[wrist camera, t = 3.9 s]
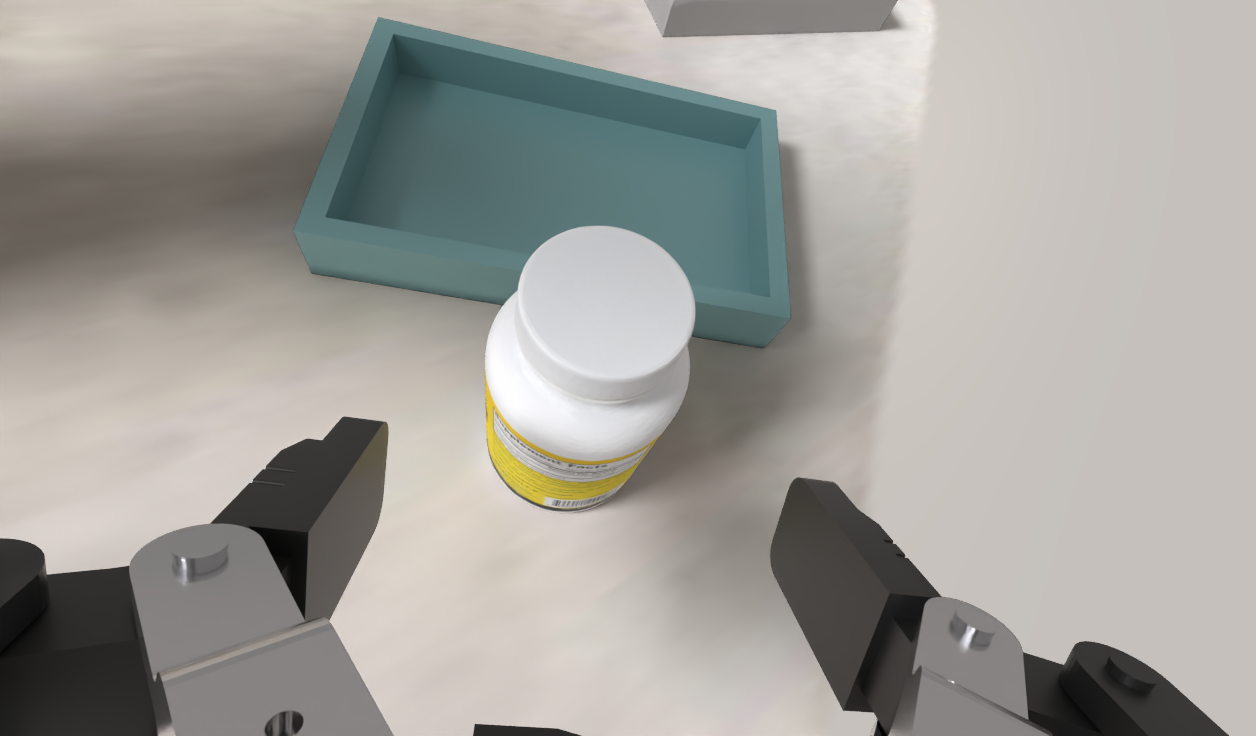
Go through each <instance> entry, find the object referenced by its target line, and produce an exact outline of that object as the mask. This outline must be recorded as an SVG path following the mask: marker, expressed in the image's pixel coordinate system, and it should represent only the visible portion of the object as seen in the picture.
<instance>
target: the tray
mask: <svg viewBox="0 0 1256 736" xmlns="http://www.w3.org/2000/svg"><path fill="white" fill-rule="evenodd" d="M585 226H611V227H617V228H622V229H626V230H629V231H632V232H634V233H637V234H639V235H642V236H644V237H646V238H648V239H650V240H651V241H653V242H654V243H656V244H658V245H659V246H660V247H662V248H663V249H664V250H665V251H666V252H667V253H669V254H670V255H671V257H672V258H673V259H674V260H675V261H676V262H677V263H678V264H679V266H680V267H681V269H682V270H683V272H684V273H685V275H686V277H687V278H688V281H689V283H690V286H691V288H692V292H693V295H694V299H695V309H696V313H695V323H694V329H693V332H692V336H693V337H699V338H705V339H711V340H717V341H723V342H730V343H736V344H742V345H748V346H754V347H760V348H765V347H766V346H767V345H768V343H769V342H770V341H771V340H772V339H773V338H774V337H775V336H776V335H777V333H778V332H779V331H780V330H781V329H782V328H783V327H784V326H785V325H786V323H787V322H788V321H789V320H790V319H791V313H790V299H789V285H788V270H787V256H786V242H785V228H784V214H783V200H782V186H781V171H780V157H779V143H778V129H777V115H776V110H772V109H768V108H763V107H759V106H755V105H751V104H746V103H742V102H738V101H734V100H729V99H725V98H721V97H717V96H712V95H708V94H704V93H700V92H695V91H691V90H687V89H683V88H678V87H674V86H670V85H665V84H661V83H657V82H653V81H648V80H644V79H640V78H636V77H631V76H627V75H623V74H619V73H614V72H610V71H606V70H602V69H597V68H593V67H589V66H585V65H580V64H576V63H572V62H568V61H563V60H559V59H555V58H551V57H546V56H542V55H538V54H533V53H529V52H525V51H521V50H516V49H512V48H508V47H504V46H499V45H495V44H491V43H487V42H482V41H478V40H474V39H470V38H465V37H461V36H457V35H453V34H448V33H444V32H440V31H436V30H431V29H427V28H423V27H418V26H414V25H410V24H406V23H401V22H397V21H393V20H389V19H384V18H380V17H378V19H377V22H376V24H375V27H374V29H373V32H372V34H371V37H370V39H369V42H368V44H367V47H366V49H365V52H364V54H363V57H362V59H361V62H360V64H359V67H358V69H357V72H356V74H355V77H354V79H353V82H352V84H351V87H350V89H349V92H348V94H347V97H346V99H345V102H344V104H343V107H342V109H341V112H340V114H339V117H338V119H337V122H336V124H335V127H334V129H333V132H332V135H331V137H330V140H329V142H328V145H327V147H326V150H325V152H324V155H323V157H322V160H321V162H320V165H319V167H318V170H317V172H316V175H315V177H314V180H313V182H312V185H311V187H310V190H309V192H308V195H307V197H306V200H305V202H304V205H303V207H302V210H301V212H300V215H299V217H298V220H297V222H296V225H295V227H294V230H293V232H294V235H295V237H296V239H297V241H298V244H299V246H300V248H301V250H302V253H303V255H304V257H305V259H306V262H307V264H308V266H309V268H310V271H311V273H313V274H319V275H325V276H331V277H337V278H343V279H349V280H355V281H361V282H367V283H373V284H379V285H385V286H391V287H397V288H403V289H409V290H415V291H421V292H427V293H434V294H440V295H446V296H452V297H458V298H464V299H470V300H476V301H482V302H488V303H494V304H500V305H504V304H505V303H506V301H507V300H508V299H509V298H510V297H511V296H512V295H513V294H514V293H515V292H516V291H517V290H518V284H519V280H520V277H521V274H522V271H523V269H524V266H525V265H526V263H527V261H528V260H529V258H530V257H531V256H532V254H533V253H534V252H535V251H536V250H537V249H538V248H539V247H540V246H541V245H542V244H543V243H545V242H546V241H547V240H549V239H551V238H552V237H554V236H556V235H558V234H560V233H563V232H565V231H567V230H570V229H574V228H578V227H585Z"/></svg>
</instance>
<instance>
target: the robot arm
mask: <svg viewBox="0 0 1256 736" xmlns="http://www.w3.org/2000/svg"><path fill="white" fill-rule="evenodd" d="M387 445H388V424H387V423H386V422H382V421H374V420H367V419H359V418H352V417H342V418H341V419H340V421H339V422H338V423H337V424H336V425H335V426H334V428H333V429H332V430H331V431H330V432H329V433H328V435H327V436H326V437H325V438H324V439H323V440H314V439H305V440H303V441H301V442H298V443H296V444H294V445H292V446H290V447H288V448H286V449H283V450H281V451H280V452H279V453H278V454H277V455H276V456H275V457H274V458H273V460H272V461H271V462H270V463H269V464H268V465H267V466H266V469H265V470H264V469H263V470H262V471H261V472H260V473H259V474H258V475H257V476H256V477H255V478H254V479H253V482H252V483H249V484H248V485H247V486H246V487H245V488H244V489H243V490H242V491H241V492H240V493H239V495H238V496H237V497H236V498H235V499H234V500H233V501H232V502H231V503H230V504H229V505H228V506H227V507H226V508H225V509H224V510H223V511H222V512H221V513H220V514H219V515H218V516H217V517H216V518H215V519H214V520H213V521H212V522H211V523H210V524H204V525H197V526H191V527H187V528H183V529H179V530H176V531H173V532H170V533H167V534H165V535H163V536H161V537H158V538H157V539H155V540H153V541H151V542H149V543H148V544H147V545H145V546H144V547H143V548H141V549H140V550H139V551H138V552H137V553H136V554H135V556H134V557H133V559H132V560H131V563H130V566H126V567H118V568H111V569H101V570H91V571H80V572H70V573H60V574H50V575H47V574H46V566H45V557H44V553H43V552H42V550H41V549H40V548H38V547H37V546H36V545H34V544H31V543H29V542H25V541H21V540H15V539H0V736H394V735H393V734H392V732H391V730H390V728H389V726H388V725H387V723H386V721H385V719H384V717H383V716H382V714H381V712H380V710H379V708H378V707H377V705H376V703H375V701H374V699H373V698H372V696H371V694H370V692H369V690H368V689H367V687H366V685H365V683H364V681H363V680H362V678H361V676H360V674H359V672H358V671H357V669H356V667H355V665H354V663H353V662H352V660H351V658H350V656H349V654H348V653H347V651H346V649H345V647H344V645H343V644H342V642H341V640H340V638H339V636H338V635H337V633H336V631H335V629H334V628H333V626H332V624H331V623H330V622H329V620H330V618H331V616H332V614H333V612H334V610H335V608H336V606H337V604H338V602H339V600H340V598H341V596H342V594H343V592H344V590H345V588H346V586H347V584H348V583H349V581H350V579H351V577H352V575H353V573H354V571H355V569H356V567H357V565H358V563H359V561H360V559H361V557H362V555H363V553H364V551H365V549H366V547H367V545H368V543H369V541H370V539H371V537H372V535H373V533H374V531H375V529H376V526H377V523H378V520H379V517H380V513H381V508H382V502H383V493H384V481H385V469H386V457H387ZM770 558H771V567H772V571H773V574H774V576H775V578H776V580H777V582H778V584H779V586H780V588H781V590H782V592H783V594H784V595H785V597H786V599H787V601H788V603H789V605H790V607H791V609H792V611H793V613H794V615H795V617H796V619H797V621H798V623H799V625H800V627H801V629H802V631H803V633H804V635H805V637H806V639H807V641H808V643H809V644H810V646H811V648H812V650H813V652H814V654H815V656H816V658H817V660H818V662H819V664H820V666H821V668H822V670H823V672H824V674H825V676H826V678H827V680H828V682H829V684H830V686H831V688H832V690H833V691H834V693H835V695H836V697H837V699H838V701H839V703H840V705H841V707H842V709H843V710H844V711H861V712H874V713H875V715H876V717H877V719H876V722H875V724H874V727H873V729H872V731H871V734H870V736H1229V735H1228V734H1226V733H1225V732H1224V731H1223V730H1222V729H1221V728H1220V727H1219V726H1217V724H1215V723H1214V722H1213V721H1212V720H1211V719H1210V718H1209V717H1208V716H1207V715H1206V714H1204V713H1203V712H1202V711H1201V710H1200V709H1199V708H1198V707H1197V706H1195V705H1194V704H1193V703H1192V702H1191V701H1190V700H1189V699H1188V698H1187V697H1186V696H1184V695H1183V694H1182V693H1181V692H1180V691H1179V690H1178V689H1177V688H1175V687H1174V686H1173V685H1172V684H1171V683H1170V682H1169V681H1168V680H1166V679H1165V678H1164V677H1163V676H1162V675H1160V674H1159V673H1158V672H1156V671H1155V670H1154V669H1152V668H1151V667H1149V666H1148V665H1146V664H1144V663H1143V662H1141V661H1139V660H1137V659H1136V658H1134V657H1132V656H1130V655H1128V654H1126V653H1124V652H1122V651H1120V650H1117V649H1115V648H1112V647H1110V646H1107V645H1103V644H1100V643H1095V642H1087V641H1084V642H1079V643H1077V644H1076V645H1075V646H1074V647H1073V649H1072V651H1071V653H1070V655H1069V657H1068V659H1067V661H1066V663H1065V664H1064V665H1062V664H1058V663H1055V662H1052V661H1049V660H1046V659H1043V658H1039V657H1036V656H1033V655H1030V654H1027V653H1024V652H1023V651H1022V647H1021V645H1020V643H1019V641H1018V639H1017V638H1016V637H1015V635H1014V634H1013V633H1012V632H1011V631H1010V630H1009V629H1008V628H1007V627H1006V626H1005V625H1004V624H1002V623H1001V622H1000V621H998V620H997V619H996V618H994V617H993V616H991V615H990V614H988V613H986V612H985V611H983V610H981V609H979V608H977V607H975V606H973V605H971V604H968V603H966V602H963V601H960V600H957V599H952V598H946V597H941V596H940V594H939V593H938V592H937V591H936V590H935V589H934V587H933V586H932V585H931V584H930V583H929V582H928V581H927V580H926V578H925V577H924V576H923V575H922V574H921V573H920V571H919V570H918V569H917V568H916V567H915V566H914V565H913V563H912V562H911V561H910V560H909V559H908V558H905V554H904V553H903V552H902V551H901V550H900V548H899V547H898V546H897V545H896V544H893V540H892V539H891V538H890V537H889V536H888V535H887V533H886V532H885V531H884V530H883V529H882V528H881V527H880V525H879V524H877V523H876V522H875V521H873V520H872V519H871V518H869V517H868V516H866V515H865V514H864V513H862V512H861V511H859V510H858V509H857V508H856V507H855V506H854V504H853V503H852V502H851V501H850V500H849V499H848V497H847V496H846V495H845V494H844V493H843V491H842V490H841V489H840V488H839V487H838V486H837V485H836V484H835V483H834V482H829V481H822V480H814V479H807V478H796V479H795V480H794V481H793V482H792V483H791V485H790V487H789V490H788V493H787V496H786V499H785V503H784V506H783V509H782V512H781V515H780V518H779V522H778V525H777V528H776V531H775V534H774V538H773V541H772V545H771V554H770ZM473 736H580V735H577V734H574V733H570V732H567V731H564V730H560V729H553V728H535V727H518V726H500V725H482V724H475V727H474V734H473Z"/></svg>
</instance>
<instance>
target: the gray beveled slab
mask: <svg viewBox="0 0 1256 736" xmlns="http://www.w3.org/2000/svg"><path fill="white" fill-rule="evenodd" d="M644 1H645V3H646V5H647V7H648V9H649V11H650V13H651V15H652V17H653V19H654V21H655V23H656V25H657V27H658V29H659V31H660V33H661V35H662V37H686V36H722V35H758V34H794V33H829V32H865V31H879V29H880V28H881V26H882V25H883V23H884V21H885V20H886V18H887V17H888V15H889V13H890V12H891V10H892V9H893V7H894V5H895V4H896V2H897V1H898V0H644Z"/></svg>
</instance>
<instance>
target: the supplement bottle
mask: <svg viewBox="0 0 1256 736" xmlns="http://www.w3.org/2000/svg"><path fill="white" fill-rule="evenodd" d="M695 313H696V309H695V299H694V295H693V292H692V288H691V286H690V283H689V281H688V278H687V277H686V275H685V273H684V272H683V270H682V269H681V267H680V266H679V264H678V263H677V262H676V261H675V260H674V259H673V258H672V257H671V255H670V254H669V253H667V252H666V251H665V250H664V249H663V248H662V247H660V246H659V245H658V244H656V243H654V242H653V241H651V240H650V239H648V238H646V237H644V236H642V235H639V234H637V233H634V232H632V231H629V230H626V229H622V228H617V227H611V226H585V227H578V228H574V229H570V230H567V231H565V232H563V233H560V234H558V235H556V236H554V237H552V238H551V239H549V240H547V241H546V242H545V243H543V244H542V245H541V246H540V247H539V248H538V249H537V250H536V251H535V252H534V253H533V254H532V256H531V257H530V258H529V260H528V261H527V263H526V265H525V266H524V269H523V271H522V274H521V277H520V280H519V284H518V290H517V291H516V292H515V293H514V294H513V295H512V296H511V297H510V298H509V299H508V300H507V301H506V303H505V304H504V305H503V306H502V308H501V309H500V311H499V313H498V314H497V316H496V318H495V319H494V322H493V324H492V326H491V329H490V332H489V336H488V340H487V346H486V354H485V386H486V433H487V446H488V452H489V456H490V460H491V463H492V466H493V468H494V470H495V472H496V474H497V475H498V477H499V478H500V480H501V481H502V483H503V484H504V485H505V486H506V488H507V489H508V490H509V491H510V492H511V493H512V494H514V495H515V496H516V497H517V498H519V499H520V500H522V501H524V502H525V503H527V504H529V505H531V506H533V507H535V508H538V509H540V510H544V511H548V512H554V513H574V512H580V511H584V510H588V509H591V508H593V507H596V506H598V505H600V504H602V503H603V502H605V501H607V500H608V499H609V498H611V497H612V496H613V495H614V494H616V493H617V492H618V491H619V490H620V489H621V487H622V486H623V485H624V484H625V483H626V481H627V480H628V479H629V477H630V476H631V475H632V473H633V472H634V471H635V469H636V468H637V467H638V465H639V464H640V462H641V461H642V460H643V458H644V457H645V456H646V454H647V453H648V452H649V450H650V449H651V448H652V446H653V445H654V443H655V442H656V441H657V439H658V438H659V437H660V436H661V434H662V433H663V432H664V430H665V429H666V428H667V426H668V425H669V424H670V422H671V421H672V419H673V418H674V417H675V415H676V413H677V412H678V410H679V408H680V406H681V404H682V402H683V399H684V397H685V394H686V391H687V388H688V383H689V376H690V357H689V351H688V346H687V344H688V342H689V340H690V338H691V336H692V332H693V329H694V323H695Z"/></svg>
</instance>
